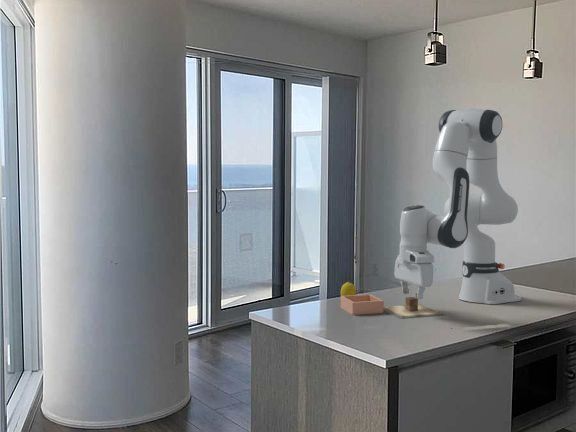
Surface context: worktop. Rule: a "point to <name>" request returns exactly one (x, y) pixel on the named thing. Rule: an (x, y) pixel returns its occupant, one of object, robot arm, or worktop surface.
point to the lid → (411, 309)
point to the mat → (411, 317)
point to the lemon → (348, 289)
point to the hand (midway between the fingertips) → (412, 296)
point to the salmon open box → (362, 304)
